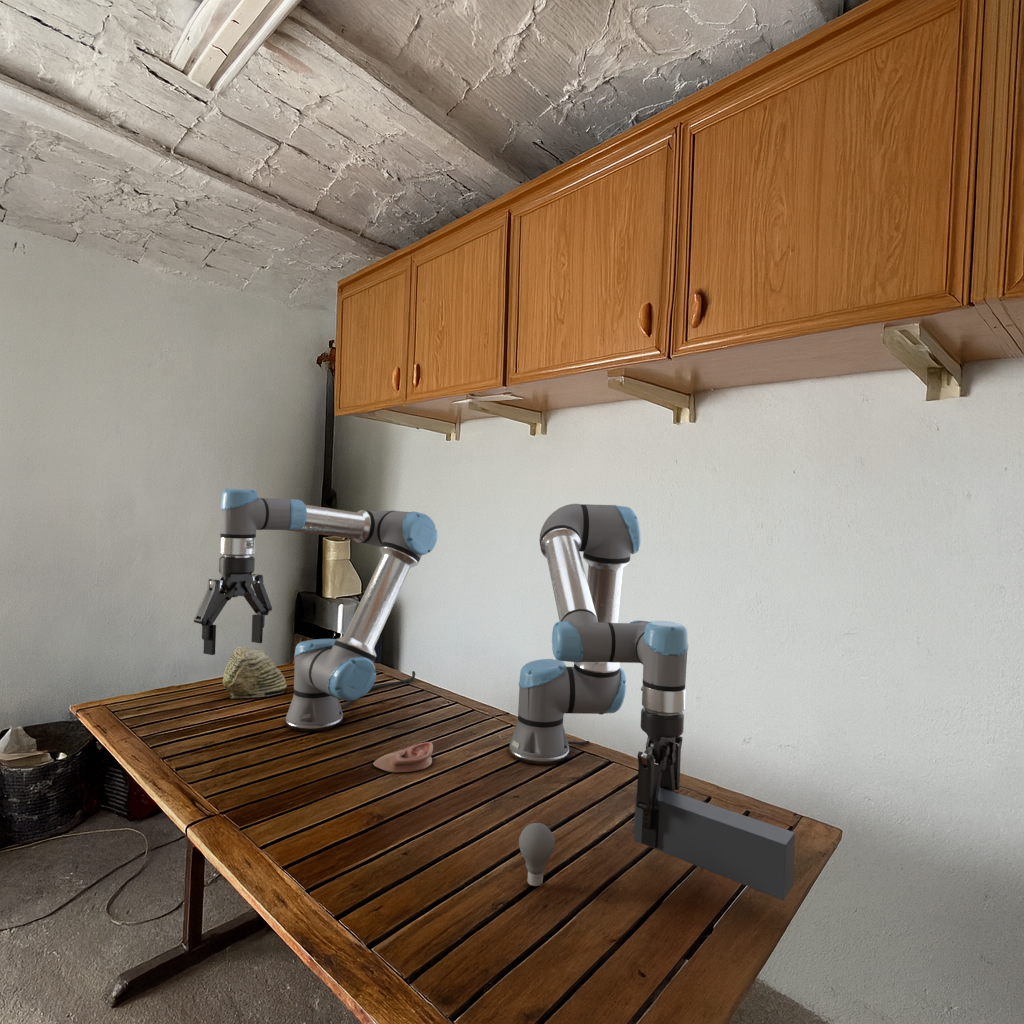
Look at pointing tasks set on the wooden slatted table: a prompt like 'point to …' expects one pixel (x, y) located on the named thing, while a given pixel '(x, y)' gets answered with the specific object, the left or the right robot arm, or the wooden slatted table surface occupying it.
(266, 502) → the left robot arm
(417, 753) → the anatomical model
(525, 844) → the light bulb
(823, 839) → the wooden slatted table surface
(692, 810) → the bar
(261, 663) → the fossil
